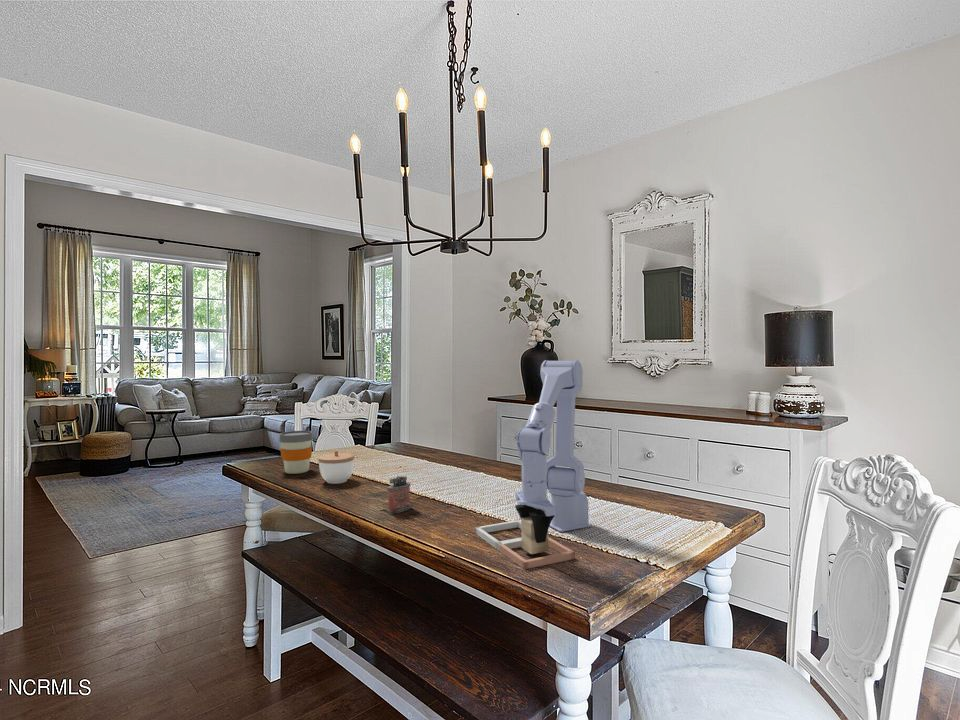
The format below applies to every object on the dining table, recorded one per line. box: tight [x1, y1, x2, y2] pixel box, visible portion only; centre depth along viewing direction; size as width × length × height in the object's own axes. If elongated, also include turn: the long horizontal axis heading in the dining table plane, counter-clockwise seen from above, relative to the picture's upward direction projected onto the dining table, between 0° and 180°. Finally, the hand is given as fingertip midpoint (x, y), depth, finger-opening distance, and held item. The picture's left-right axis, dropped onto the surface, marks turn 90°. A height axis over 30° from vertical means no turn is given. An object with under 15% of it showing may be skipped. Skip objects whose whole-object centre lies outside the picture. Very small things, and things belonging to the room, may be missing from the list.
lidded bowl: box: [317, 450, 355, 485], centre depth 202 cm, size 13×13×11 cm
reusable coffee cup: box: [278, 430, 313, 475], centre depth 220 cm, size 12×13×15 cm
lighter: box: [386, 475, 412, 515], centre depth 166 cm, size 8×3×10 cm, turn 141°
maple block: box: [520, 517, 549, 555], centre depth 129 cm, size 4×4×7 cm
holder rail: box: [474, 519, 576, 570], centre depth 135 cm, size 13×26×2 cm, turn 25°
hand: (535, 538), depth 129 cm, fingers closed on maple block, 4 cm apart
